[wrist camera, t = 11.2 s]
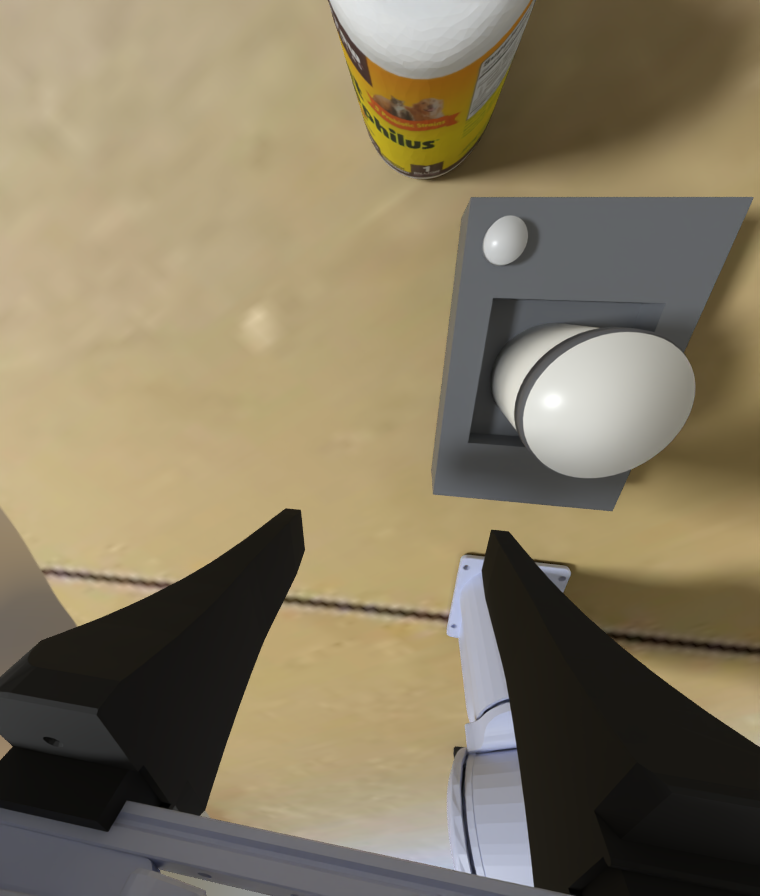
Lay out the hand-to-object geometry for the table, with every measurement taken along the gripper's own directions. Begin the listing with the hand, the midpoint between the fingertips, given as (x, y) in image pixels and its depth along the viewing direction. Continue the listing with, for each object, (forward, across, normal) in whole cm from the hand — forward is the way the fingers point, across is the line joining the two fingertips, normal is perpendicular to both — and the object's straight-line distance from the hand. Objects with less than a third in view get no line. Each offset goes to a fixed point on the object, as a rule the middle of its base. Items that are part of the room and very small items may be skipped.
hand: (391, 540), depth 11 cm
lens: (+8, -7, -5) cm, 12 cm away
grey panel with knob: (+9, -7, -5) cm, 13 cm away
